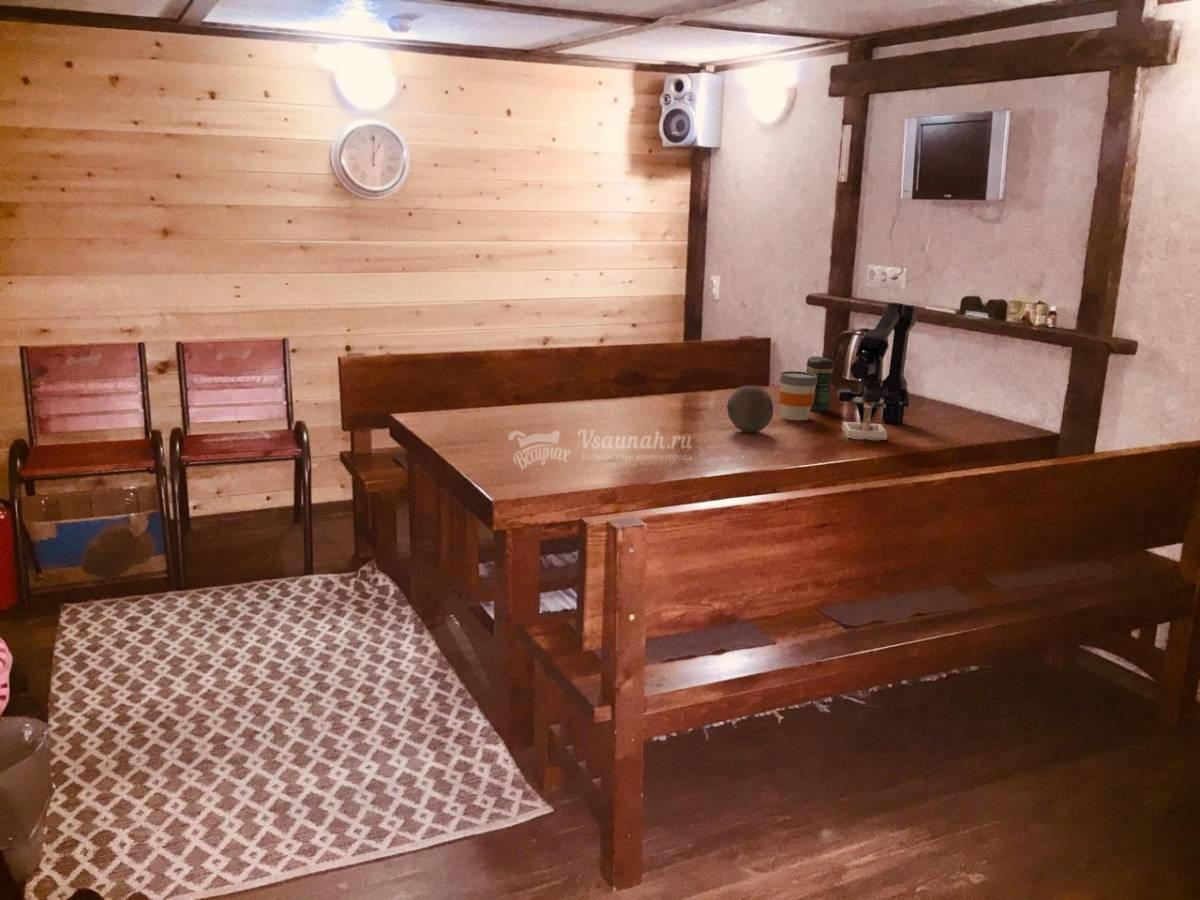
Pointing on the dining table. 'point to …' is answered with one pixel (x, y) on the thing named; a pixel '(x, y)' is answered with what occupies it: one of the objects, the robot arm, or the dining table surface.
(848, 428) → the dish
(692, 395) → the dining table surface
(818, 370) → the coffee jar
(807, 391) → the reusable coffee cup
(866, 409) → the tan cuboid brick
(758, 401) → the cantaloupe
